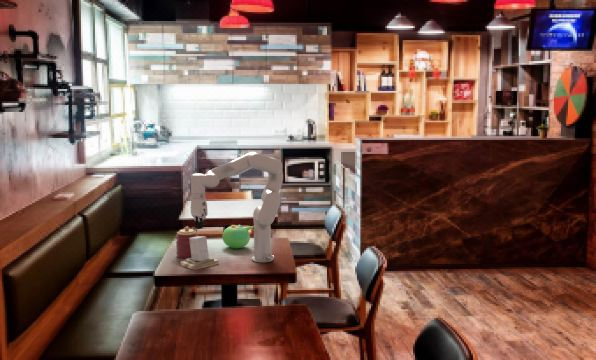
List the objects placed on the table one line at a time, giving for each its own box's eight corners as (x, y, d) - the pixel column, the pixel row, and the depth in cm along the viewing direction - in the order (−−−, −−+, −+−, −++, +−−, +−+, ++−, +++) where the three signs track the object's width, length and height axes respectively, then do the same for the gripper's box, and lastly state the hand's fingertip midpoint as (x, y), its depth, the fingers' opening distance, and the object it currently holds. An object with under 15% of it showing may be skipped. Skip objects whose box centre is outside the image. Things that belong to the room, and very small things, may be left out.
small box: (209, 259, 362) (206, 236, 361) (200, 261, 357) (197, 238, 356) (200, 258, 367) (198, 236, 367) (191, 260, 363) (188, 237, 362)
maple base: (218, 263, 364) (218, 258, 364) (194, 270, 352) (194, 264, 352) (204, 259, 373) (204, 253, 373) (180, 265, 361) (180, 259, 361)
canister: (174, 258, 374) (173, 229, 371) (178, 252, 387) (177, 224, 384) (197, 258, 374) (196, 229, 371) (199, 252, 387) (199, 224, 384)
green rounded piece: (217, 247, 400) (217, 224, 397) (239, 242, 411) (238, 220, 409) (234, 252, 387) (234, 229, 384) (256, 248, 398) (256, 224, 396)
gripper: (212, 196, 354) (213, 229, 357) (195, 193, 364) (195, 224, 367) (201, 198, 348) (202, 231, 351) (184, 194, 359) (185, 227, 362)
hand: (198, 227), depth 359 cm, fingers closed
